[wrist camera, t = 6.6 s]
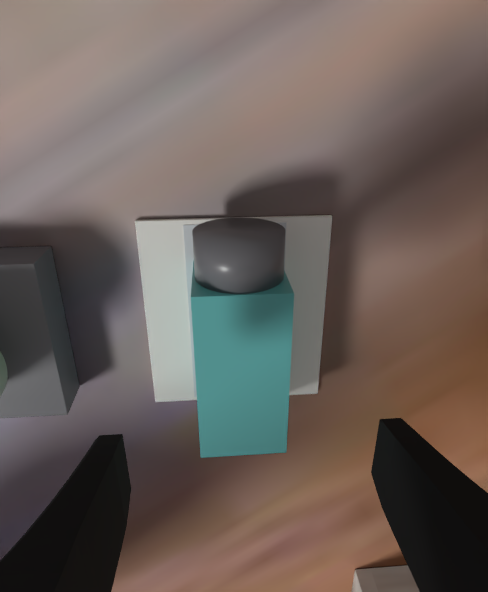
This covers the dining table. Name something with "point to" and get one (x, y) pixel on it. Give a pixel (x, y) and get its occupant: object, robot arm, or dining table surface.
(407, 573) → the grey striped open box
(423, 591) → the robot arm
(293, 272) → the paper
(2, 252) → the button base
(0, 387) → the button
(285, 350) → the teal capped block
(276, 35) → the dining table surface
